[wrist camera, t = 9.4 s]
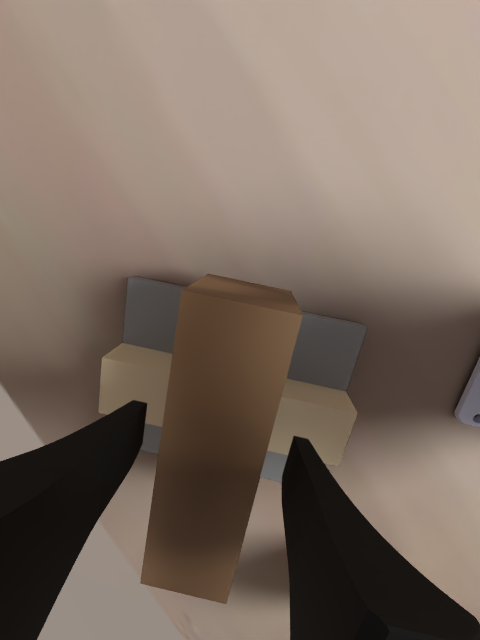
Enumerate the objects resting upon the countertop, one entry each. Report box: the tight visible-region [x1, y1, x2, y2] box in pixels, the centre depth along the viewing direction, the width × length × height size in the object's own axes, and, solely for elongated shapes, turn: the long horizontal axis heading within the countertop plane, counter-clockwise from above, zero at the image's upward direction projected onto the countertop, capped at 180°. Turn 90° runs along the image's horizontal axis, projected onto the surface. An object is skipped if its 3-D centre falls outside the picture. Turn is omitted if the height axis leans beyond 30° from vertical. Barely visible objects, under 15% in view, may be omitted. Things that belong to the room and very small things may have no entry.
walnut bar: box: [140, 274, 303, 604], centre depth 12 cm, size 4×12×4 cm, turn 169°
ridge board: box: [98, 276, 367, 482], centre depth 15 cm, size 12×10×3 cm
